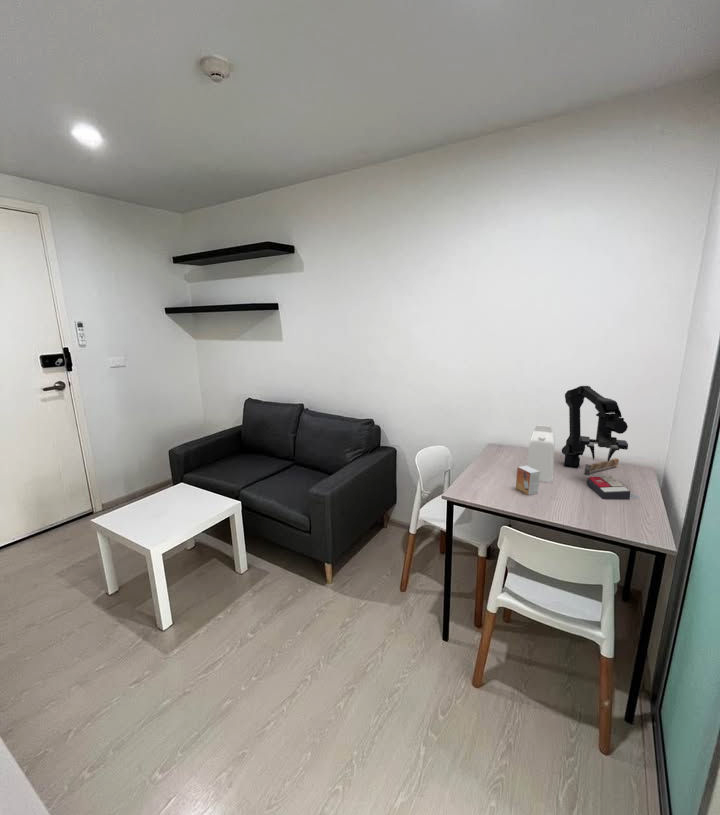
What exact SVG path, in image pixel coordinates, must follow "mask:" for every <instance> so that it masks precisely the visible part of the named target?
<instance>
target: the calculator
mask: <svg viewBox="0 0 720 815" xmlns="http://www.w3.org/2000/svg"><path fill="white" fill-rule="evenodd" d="M586 485H588V486H589V487H590V489H592V490H593V491H594V492H595V493H596V494H597V495H598V496H599V497H600V498H602V499H603V500H630V498H631V497H630V494H631V490H630V489H628V488H627V487H626V486H624V485H623V484H622V483H621V482H619V481H618V480H617V479H616V478H614V477H613V476H611V475H606V476H605V475H604V476H601V475H600V476H588V477H586Z"/></svg>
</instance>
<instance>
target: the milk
mask: <svg viewBox="0 0 720 815" xmlns="http://www.w3.org/2000/svg"><path fill="white" fill-rule="evenodd" d="M555 440H556V439H555V434H554V431H553V429H552V426H551V425H544V424H543V425H542V424H537V425H536V426H535V428H534V429H533V432H532V434H531V437H530V441H529V446H528V450H527V451H528V452H527V459H526V460H527V461H526V466H529V467H531V468H533V469H535V470H538V471H540V477H539V482H544V483H550V484H551V483H552V484H553V476H554V463H555V444H556V443H555V442H556V441H555Z"/></svg>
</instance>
